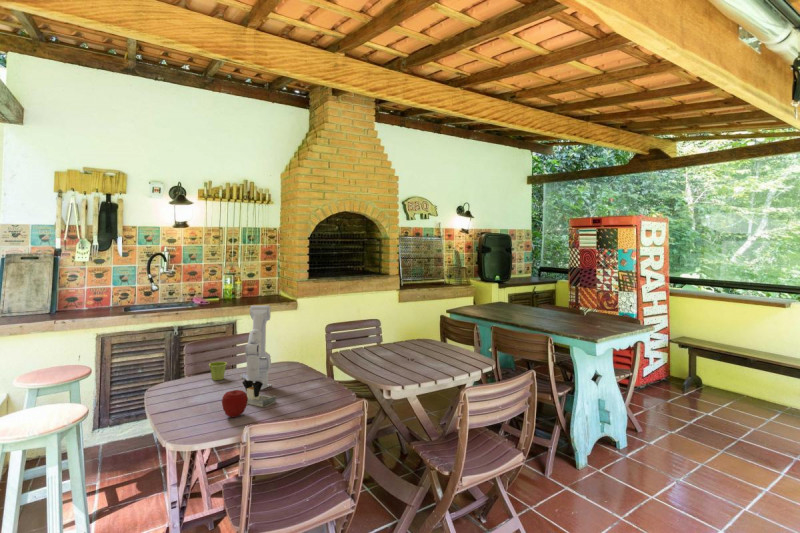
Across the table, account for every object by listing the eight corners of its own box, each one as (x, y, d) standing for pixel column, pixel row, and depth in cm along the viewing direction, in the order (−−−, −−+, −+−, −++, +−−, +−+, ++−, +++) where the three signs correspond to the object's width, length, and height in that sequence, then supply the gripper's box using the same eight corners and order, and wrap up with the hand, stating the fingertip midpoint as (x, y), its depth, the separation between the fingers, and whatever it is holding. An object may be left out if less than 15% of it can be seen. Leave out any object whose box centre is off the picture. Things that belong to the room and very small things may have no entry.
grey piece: (239, 402, 200) (239, 396, 200) (251, 397, 208) (251, 391, 207) (264, 407, 194) (264, 401, 194) (275, 402, 202) (275, 395, 201)
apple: (239, 422, 178) (239, 395, 178) (216, 419, 180) (216, 393, 179) (252, 412, 189) (252, 386, 188) (230, 410, 191) (230, 385, 190)
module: (246, 400, 201) (246, 387, 201) (253, 397, 205) (253, 385, 205) (253, 402, 199) (253, 389, 199) (259, 399, 203) (259, 386, 203)
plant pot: (215, 376, 241) (214, 361, 241) (230, 376, 240) (230, 361, 239) (205, 381, 232) (205, 365, 231) (221, 382, 230) (221, 366, 230)
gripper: (235, 368, 201) (235, 396, 201) (258, 372, 195) (258, 400, 195) (246, 364, 207) (246, 391, 208) (269, 368, 201) (269, 396, 202)
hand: (253, 395), depth 202 cm, fingers closed on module, 4 cm apart
